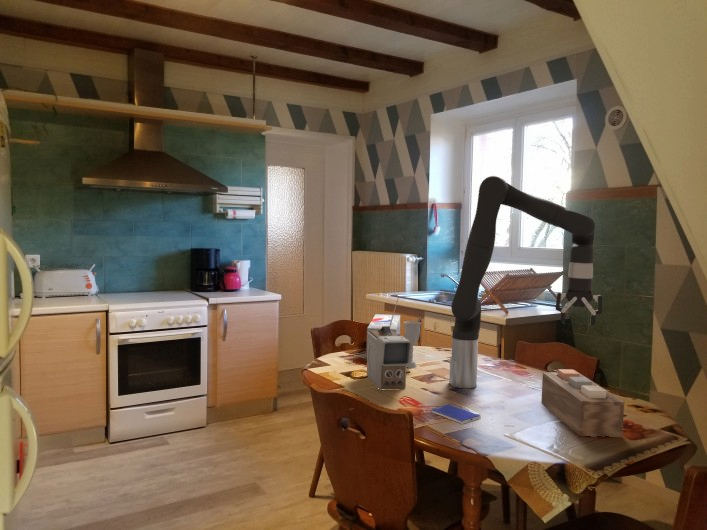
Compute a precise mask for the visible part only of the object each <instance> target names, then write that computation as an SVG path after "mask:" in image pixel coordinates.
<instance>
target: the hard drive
mask: <svg viewBox="0 0 707 530" xmlns="http://www.w3.org/2000/svg"><path fill="white" fill-rule="evenodd" d="M431 413H433V414H435V415H438V416H441V417H443V418H446V419H449V420H451V421H455V422H457V423H460V424H462V425H464V424H466V423H467V424H468V423H470V422H473V421H474V422H475V421H478V420H479V419H481V415H480V414H477V413H474V412H471V411H469V410H465V409H463V408H461V407H457V406H455V405H452V404H449V403H448V404H444V405H442V406H438V407H434V408H431Z"/></svg>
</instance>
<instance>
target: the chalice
mask: <svg viewBox="0 0 707 530" xmlns="http://www.w3.org/2000/svg"><path fill="white" fill-rule="evenodd" d="M403 324H404V334H403V335H404V338H406V339H407V340H409V341H410V342H411V343H412V347H411V357H410V364H409V365H407V366H406V367H408V368H407V369H416V367H417V368H418V365H417V363H416V361H415V360H414V359H413V357H414V353H413V352H414V346H416V344H417V342H418V340H419V338H420V335H421V325H422V322H420V321H413V320H412V321H411V320H409V321H403Z"/></svg>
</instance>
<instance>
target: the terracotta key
mask: <svg viewBox="0 0 707 530" xmlns="http://www.w3.org/2000/svg"><path fill="white" fill-rule="evenodd" d="M557 373H558V374H557V376H558V377H559V378H560V379H562V380H569V377H579V376H580V374H581V373H580V372H578V371H577V370H575V369H567V368H566V369H563V368H560V369H559V368H558V369H557ZM579 373H580V374H579Z"/></svg>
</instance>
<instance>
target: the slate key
mask: <svg viewBox="0 0 707 530" xmlns="http://www.w3.org/2000/svg"><path fill="white" fill-rule="evenodd" d="M587 378H588V377H587V376H585V377H569V385H570V386H571V387H573V388H574V389H581V385H587V386H592V382H593V381H592V380H591V379H589V378H588V379H587ZM590 380H591V381H590Z"/></svg>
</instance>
